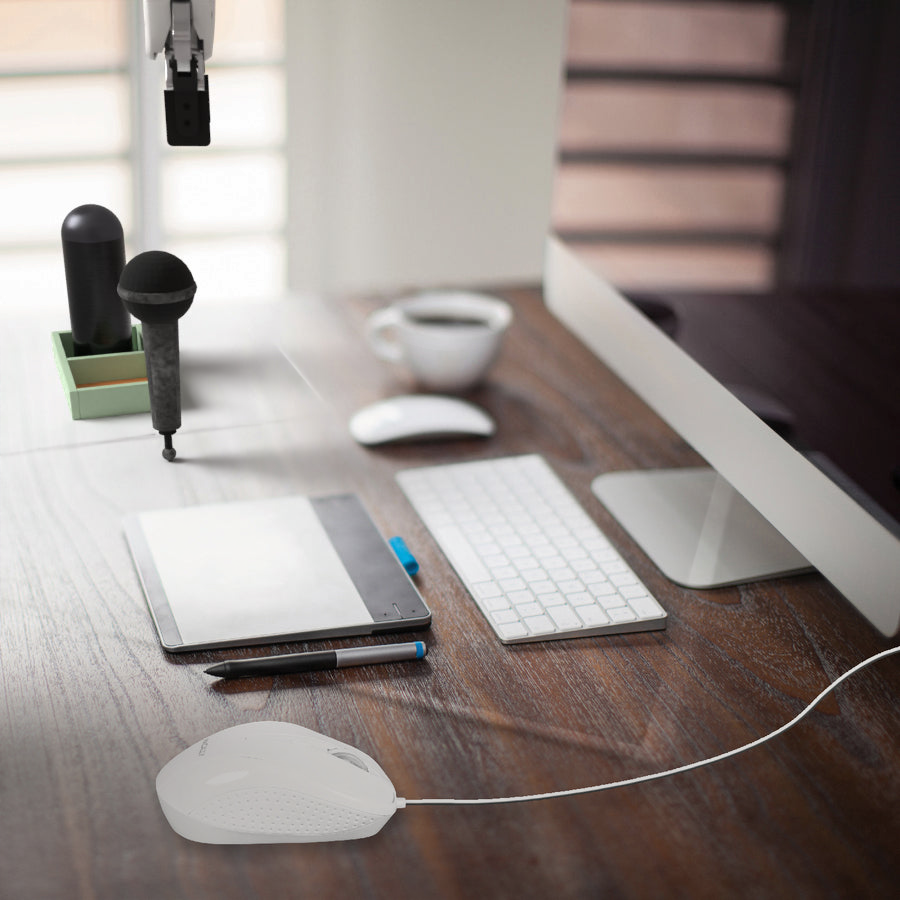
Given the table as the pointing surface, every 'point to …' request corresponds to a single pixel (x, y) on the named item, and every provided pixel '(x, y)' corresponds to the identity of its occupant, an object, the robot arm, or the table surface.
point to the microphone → (160, 330)
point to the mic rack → (102, 378)
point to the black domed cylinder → (95, 281)
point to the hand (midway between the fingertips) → (190, 134)
